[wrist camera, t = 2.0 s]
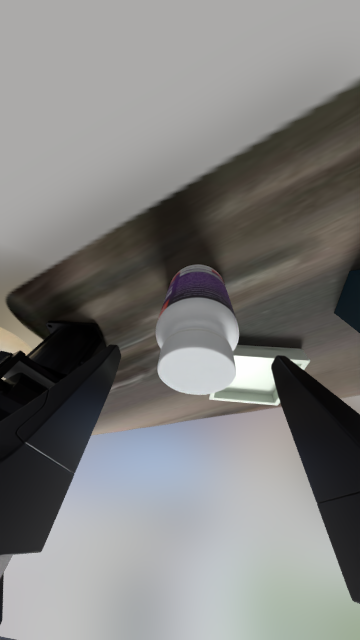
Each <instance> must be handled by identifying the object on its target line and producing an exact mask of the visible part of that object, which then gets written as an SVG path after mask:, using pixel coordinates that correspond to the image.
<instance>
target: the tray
mask: <svg viewBox="0 0 360 640" xmlns="http://www.w3.org/2000/svg"><path fill="white" fill-rule="evenodd" d="M233 355H234V361H235V366H236V376H235V379H234V380H233V382H232V383H231V384H230V385H229V386H228V387H226V388H225V389H223V390H221V391H218V392H215V393H211V394H209V399H210V400H221V401H233V402H244V403H256V404H267V405H278V404H279V403H280V400H279V397H278V394H277V390H276V386H275V382H274V378H273V374H272V370H271V365H272V363H273V361H274V359H275V357H276V356H277V355H283V356H286V357H288V358H289V359H290V360H291V361H293V362H294V363H295V364H296V365H298V366H299V367H300V368H301V369H303V370H304V369H305V367H306V366H307V365H308V363H309V362H310V359H309V358H308V357H307V355H306V354H305V353H304V351H303V350H302V349H296V348H280V347H265V346H249V345H237V346H236V348H235V349H234V351H233Z"/></svg>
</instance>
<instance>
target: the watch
mask: <svg viewBox="0 0 360 640" xmlns="http://www.w3.org/2000/svg"><path fill="white" fill-rule="evenodd" d="M334 313H335V314H336V315H337V316H339V317H340V318H341V319H342V320H344V321H345V322H346V323H348V324H349V325H350V326H351V327H353V328H354V329H355V330H356V331H358V332H359V333H360V270H355V271H350V272H349V275H348V277H347V280H346V283H345V285H344V288H343V291H342V293H341V296H340V299H339V301H338V304H337V307H336V310H335V312H334Z"/></svg>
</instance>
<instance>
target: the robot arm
mask: <svg viewBox="0 0 360 640" xmlns="http://www.w3.org/2000/svg"><path fill="white" fill-rule="evenodd" d="M46 326H47V328H48V330H49V331H50V333H51V334H50V335H49V336H48V337H47V338H46V339H45V340H44V341H43V342H42V343H40V344H39V345H38V346H37V347H36V348H35V349H33V350H32V351H31V352H30V353H29V354H28V355H27V356H26V355H25V353H23V352H22V351H18V352H16V353H14V354H12V353H8V352H4V351H0V624H1V622H2V609H3V606H2V605H3V574H4V571H5V569H6V567H7V565H8V563H9V561H10V559H11V557H12V555H15V554H26V553H38V552H41V551H42V549H43V547H44V545H45V542H46V540H47V538H48V535H49V533H50V531H51V528H52V526H53V524H54V520H55V519H56V516H57V514H58V512H59V509H60V507H61V505H62V502H63V500H64V498H65V495H66V493H67V490H68V488H69V486H70V483H71V481H72V479H73V476H74V473H75V471H76V469H77V467H78V464H79V462H80V460H81V457H82V455H83V453H84V450H85V448H86V445H87V443H88V441H89V439H90V436H91V434H92V431H93V429H94V427H95V424H96V422H97V420H98V417H99V415H100V413H101V410H102V408H103V406H104V403H105V401H106V399H107V396H108V394H109V392H110V389H111V387H112V384H113V382H114V379H115V375H116V372H117V369H118V365H119V362H120V359H121V353H120V350H119V347H118V345H109V346H108V347H106V346H105V343H104V341H103V338H102V336H101V333H100V330H99V328H98V326H97V325H96V324H94V323H78V322H60V321H49V322H47V323H46ZM271 370H272V374H273V378H274V382H275V386H276V390H277V394H278V397H279V400H280V403H281V406H282V408H283V411H284V414H285V417H286V419H287V422H288V425H289V428H290V430H291V433H292V436H293V439H294V441H295V444H296V447H297V450H298V452H299V455H300V458H301V461H302V463H303V466H304V469H305V472H306V474H307V477H308V480H309V483H310V486H311V488H312V491H313V494H314V497H315V499H316V502H317V505H318V508H319V511H320V513H321V516H322V519H323V522H324V524H325V527H326V530H327V533H328V535H329V538H330V541H331V544H332V547H333V549H334V552H335V555H336V558H337V560H338V563H339V566H340V569H341V571H342V574H343V577H344V579H345V582H346V585H347V588H348V590H349V593H350V595H351V598H352V600H353V601H354V602H357V603H359V604H360V414H359V413H357V412H356V411H355V410H353V409H352V408H351V407H350V406H348V405H347V404H346V403H344V402H343V401H342V400H341V399H340V398H338V397H337V396H336V395H334V394H333V393H332V392H331V391H329V390H328V389H327V388H326V387H324V386H323V385H322V384H321V383H319V382H318V381H317V380H315V379H314V378H313V377H312V376H310V375H309V374H308V373H307V372H305V371H304V370H303V369H301V368H300V367H299V366H298V365H296V364H295V363H294V362H293V361H291V360H290V359H289V358H288V357H286V356H283V355H277V356H276V357H275V359H274V361H273V363H272V365H271ZM2 377H4V378H6V380H2V379H1V378H2ZM0 640H15V639H10V638H5V637H0Z"/></svg>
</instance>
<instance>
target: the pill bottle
mask: <svg viewBox="0 0 360 640" xmlns="http://www.w3.org/2000/svg"><path fill="white" fill-rule="evenodd" d="M156 338H157V342H158V344H159V346H160V348H161V351H160V356H159V361H158V366H157V369H158V374H159V377H160V378H161V380H162V381H163V382H164V383H165V384H166V385H168V386H169V387H171V388H173V389H174V390H177V391H179V392H183V393H187V394H195V395H204V394H211V393H215V392H218V391H221V390H223V389H225V388H226V387H228V386H229V385H230V384H231V383H232V382H233V380H234V379H235V376H236V366H235V361H234V355H233V351H234V349H235V348H236V346H237V343H238V340H239V328H238V324H237V320H236V317H235V314H234V311H233V308H232V305H231V302H230V299H229V296H228V293H227V290H226V287H225V284H224V281H223V279H222V278H221V276H220V275H219V273H218V272H217V271H215V270H214V269H213V268H211V267H209V266H205V265H199V264H197V265H190V266H187V267H185V268H183V269H181V270H180V271H179V272H178V273H177V274H176V275H175V276H174V277H173V279H172V281H171V283H170V286H169V289H168V292H167V295H166V298H165V301H164V304H163V307H162V310H161V313H160V315H159V319H158V322H157V326H156Z"/></svg>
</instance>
